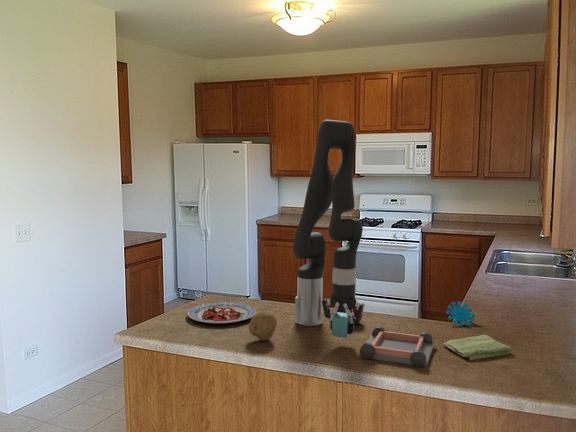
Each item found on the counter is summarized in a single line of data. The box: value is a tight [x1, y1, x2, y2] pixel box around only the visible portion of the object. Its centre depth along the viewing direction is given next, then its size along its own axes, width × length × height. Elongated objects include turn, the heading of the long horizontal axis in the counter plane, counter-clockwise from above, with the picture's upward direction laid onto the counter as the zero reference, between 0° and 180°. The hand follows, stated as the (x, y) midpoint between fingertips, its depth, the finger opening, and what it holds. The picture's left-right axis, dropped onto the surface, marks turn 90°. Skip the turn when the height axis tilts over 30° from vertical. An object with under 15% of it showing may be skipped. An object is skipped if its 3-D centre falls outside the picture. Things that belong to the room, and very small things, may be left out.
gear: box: [446, 301, 478, 327], centre depth 192 cm, size 11×6×10 cm
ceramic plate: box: [187, 301, 257, 325], centre depth 197 cm, size 26×26×3 cm
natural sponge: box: [248, 310, 278, 342], centre depth 171 cm, size 9×9×10 cm
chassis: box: [358, 325, 434, 368], centre depth 162 cm, size 20×19×4 cm
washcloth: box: [442, 334, 512, 361], centre depth 164 cm, size 13×18×3 cm
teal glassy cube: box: [331, 312, 350, 339], centre depth 167 cm, size 5×6×6 cm
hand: (342, 332), depth 167 cm, fingers closed on teal glassy cube, 5 cm apart
